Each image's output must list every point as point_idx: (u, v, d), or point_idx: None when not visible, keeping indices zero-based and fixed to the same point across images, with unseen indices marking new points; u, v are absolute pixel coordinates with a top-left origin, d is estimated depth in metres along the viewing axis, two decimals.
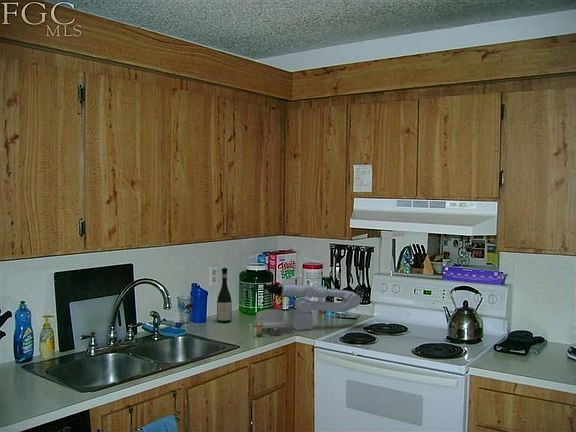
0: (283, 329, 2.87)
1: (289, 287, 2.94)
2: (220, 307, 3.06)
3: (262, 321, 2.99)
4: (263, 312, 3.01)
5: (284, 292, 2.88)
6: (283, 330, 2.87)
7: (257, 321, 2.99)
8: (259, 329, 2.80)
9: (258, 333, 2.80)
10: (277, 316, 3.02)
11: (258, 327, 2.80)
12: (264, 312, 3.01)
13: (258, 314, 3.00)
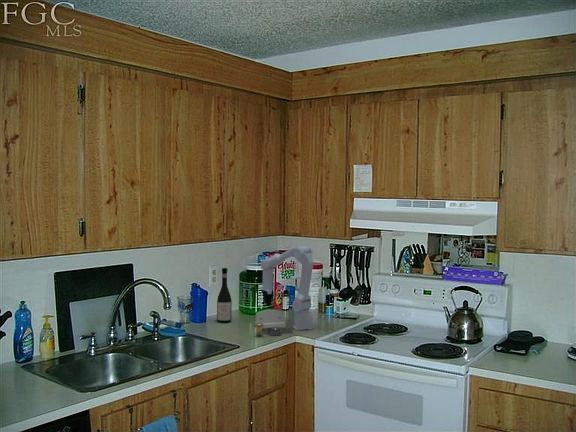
0: (283, 329, 2.87)
1: (264, 284, 3.09)
2: (220, 307, 3.06)
3: (262, 321, 2.99)
4: (263, 312, 3.01)
5: (269, 292, 3.05)
6: (283, 330, 2.87)
7: (257, 321, 2.99)
8: (259, 329, 2.80)
9: (258, 333, 2.80)
10: (277, 316, 3.02)
11: (258, 327, 2.80)
12: (264, 312, 3.01)
13: (258, 314, 3.00)
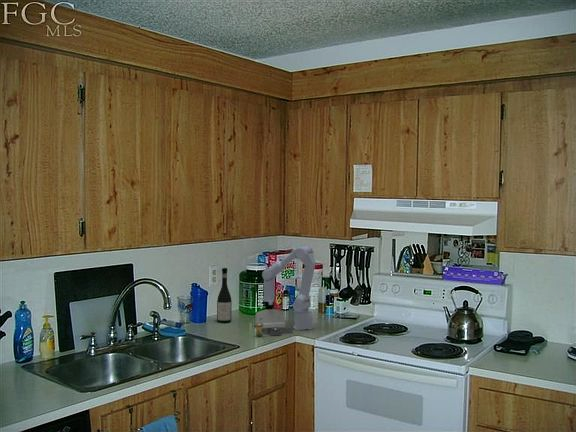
0: (283, 329, 2.87)
1: (266, 295, 3.04)
2: (220, 307, 3.06)
3: (262, 321, 2.99)
4: (262, 312, 3.01)
5: (270, 303, 3.00)
6: (283, 330, 2.87)
7: (257, 321, 2.98)
8: (259, 329, 2.80)
9: (258, 333, 2.80)
10: (277, 316, 3.02)
11: (258, 327, 2.80)
12: (264, 312, 3.01)
13: (258, 314, 3.00)
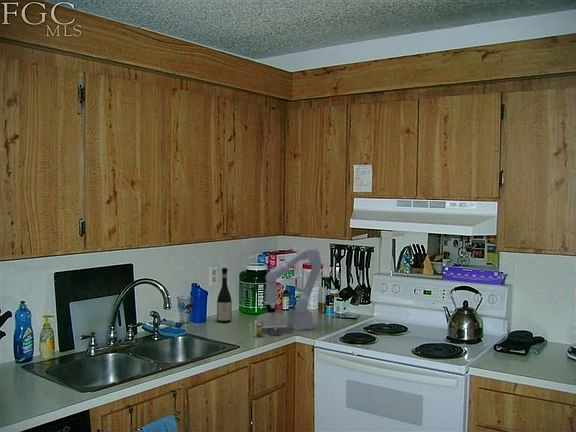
0: (283, 329, 2.87)
1: (268, 298, 2.96)
2: (220, 307, 3.06)
3: (263, 324, 2.92)
4: (264, 316, 2.93)
5: (273, 306, 2.92)
6: (283, 330, 2.87)
7: None
8: (259, 329, 2.80)
9: (258, 333, 2.80)
10: (279, 319, 2.94)
11: (258, 327, 2.80)
12: (265, 315, 2.93)
13: (259, 317, 2.92)
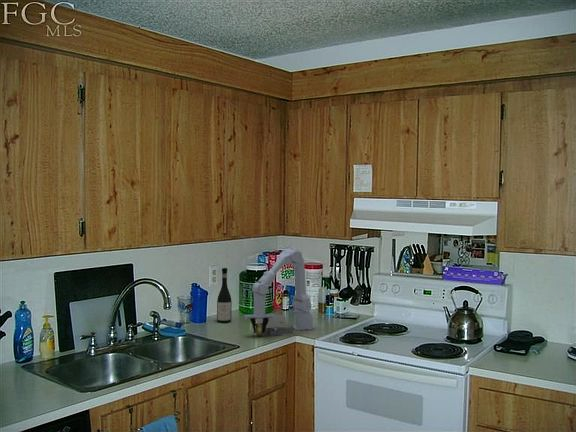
0: (283, 329, 2.87)
1: None
2: (220, 307, 3.06)
3: None
4: None
5: (245, 317, 2.79)
6: (283, 330, 2.87)
7: None
8: (259, 329, 2.80)
9: (258, 333, 2.80)
10: (279, 320, 2.92)
11: (258, 327, 2.80)
12: None
13: None
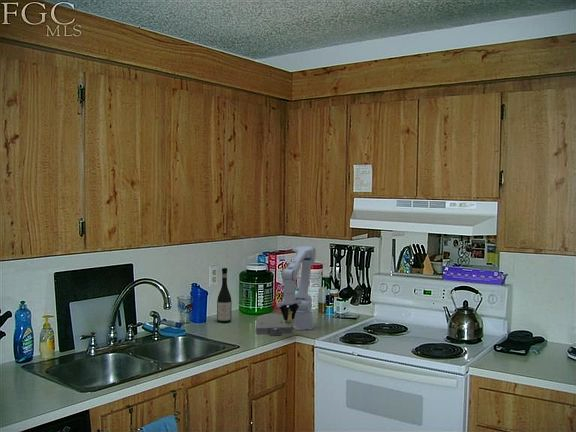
0: (283, 329, 2.87)
1: None
2: (220, 307, 3.06)
3: (263, 325, 2.90)
4: (264, 317, 2.91)
5: (277, 304, 2.75)
6: (283, 330, 2.87)
7: (258, 325, 2.89)
8: (290, 316, 2.79)
9: (289, 320, 2.79)
10: (278, 320, 2.92)
11: (289, 314, 2.79)
12: (265, 316, 2.91)
13: (259, 318, 2.90)
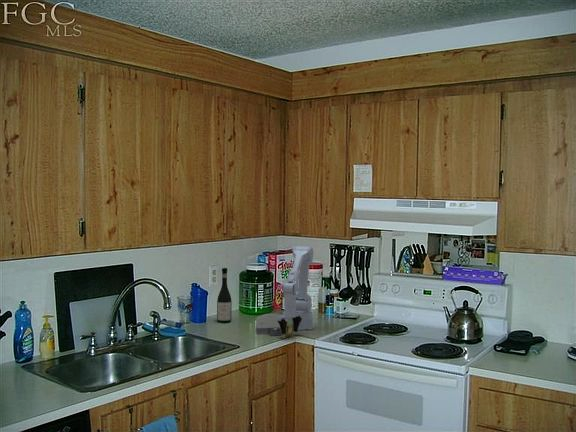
0: None
1: (284, 309, 2.80)
2: (220, 307, 3.06)
3: (263, 325, 2.90)
4: (264, 317, 2.91)
5: (278, 318, 2.75)
6: None
7: (258, 325, 2.89)
8: (290, 330, 2.79)
9: (290, 334, 2.79)
10: None
11: (290, 328, 2.79)
12: (265, 316, 2.91)
13: (259, 318, 2.90)
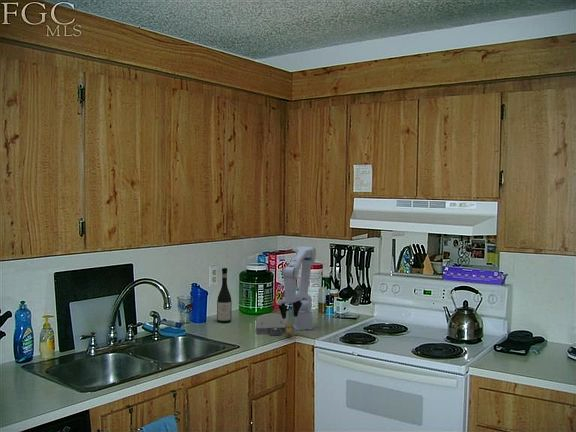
0: (283, 329, 2.87)
1: (284, 294, 2.80)
2: (220, 307, 3.06)
3: (263, 325, 2.90)
4: (263, 317, 2.91)
5: (278, 302, 2.75)
6: (283, 330, 2.87)
7: (258, 325, 2.89)
8: (290, 330, 2.79)
9: (290, 334, 2.79)
10: (278, 320, 2.92)
11: (290, 328, 2.79)
12: (265, 316, 2.91)
13: (259, 318, 2.90)
